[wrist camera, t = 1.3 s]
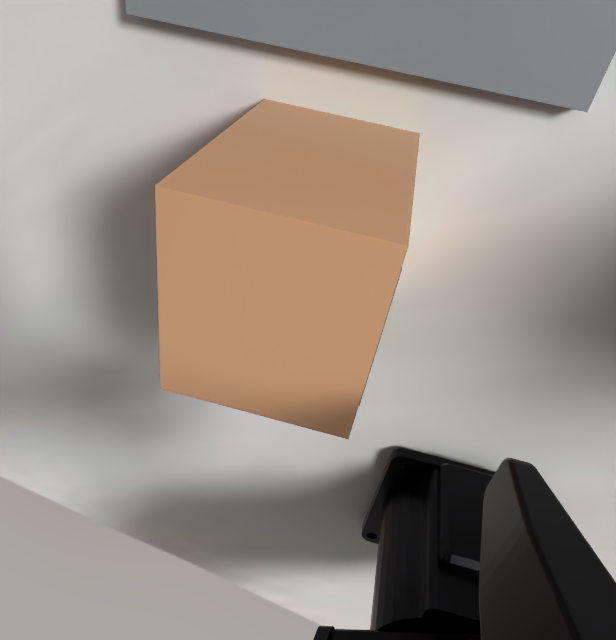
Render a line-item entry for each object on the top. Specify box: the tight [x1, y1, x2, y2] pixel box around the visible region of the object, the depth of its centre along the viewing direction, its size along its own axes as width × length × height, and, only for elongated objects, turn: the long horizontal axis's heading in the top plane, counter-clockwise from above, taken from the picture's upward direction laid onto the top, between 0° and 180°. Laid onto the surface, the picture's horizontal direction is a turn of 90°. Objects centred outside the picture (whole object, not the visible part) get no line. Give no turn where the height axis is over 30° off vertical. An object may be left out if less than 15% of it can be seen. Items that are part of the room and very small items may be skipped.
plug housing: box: [155, 99, 420, 439], centre depth 13 cm, size 5×5×7 cm
